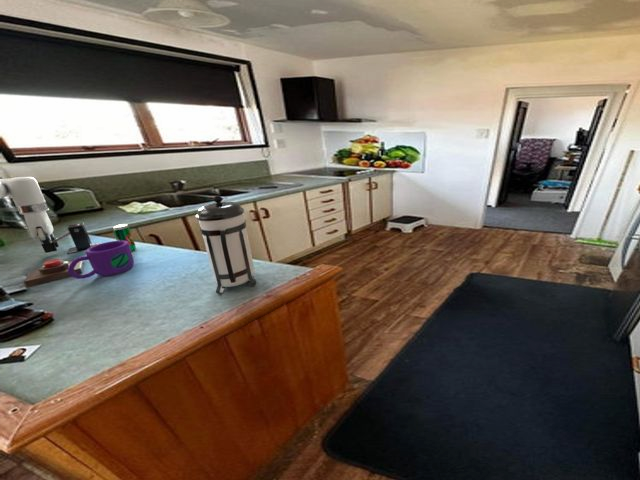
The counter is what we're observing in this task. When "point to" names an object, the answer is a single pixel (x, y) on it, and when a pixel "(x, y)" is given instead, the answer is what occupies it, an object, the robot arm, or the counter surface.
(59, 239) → the lever
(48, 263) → the lamp button
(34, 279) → the lamp base
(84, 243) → the switch bracket
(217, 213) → the coffee press
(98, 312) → the counter surface
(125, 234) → the soda can
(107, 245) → the mug
